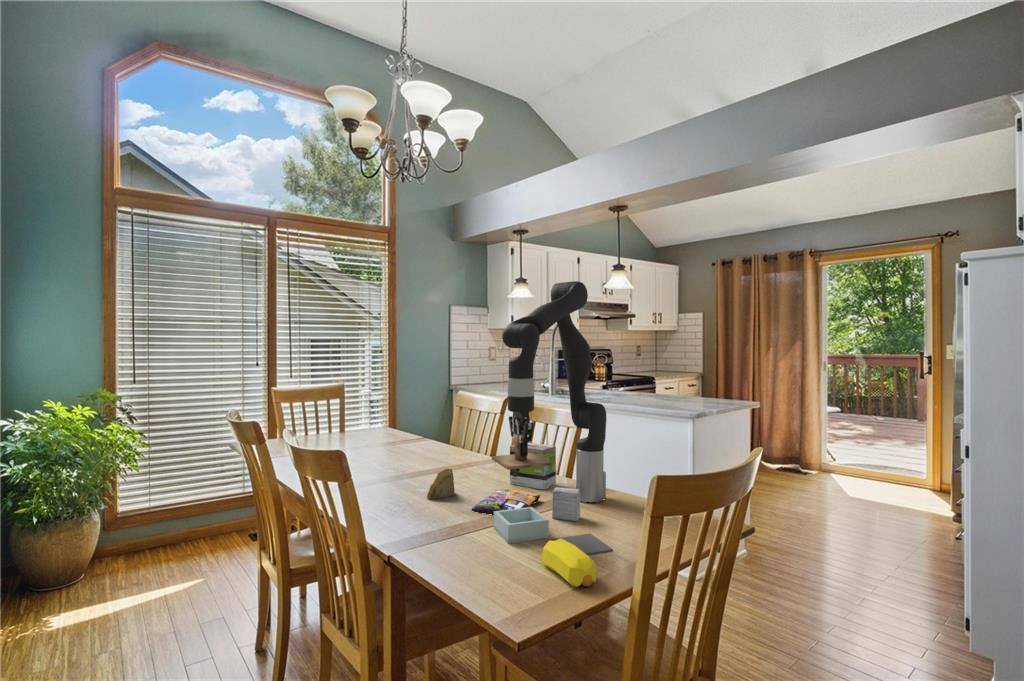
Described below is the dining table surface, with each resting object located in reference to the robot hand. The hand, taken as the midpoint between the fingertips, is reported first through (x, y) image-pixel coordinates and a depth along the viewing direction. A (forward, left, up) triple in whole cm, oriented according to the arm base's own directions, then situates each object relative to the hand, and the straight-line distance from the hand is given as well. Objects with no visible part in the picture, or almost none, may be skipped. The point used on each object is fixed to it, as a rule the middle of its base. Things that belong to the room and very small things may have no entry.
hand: (520, 454), depth 152 cm
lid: (0, 0, -2) cm, 2 cm away
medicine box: (-18, -7, -23) cm, 30 cm away
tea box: (-23, -45, -23) cm, 55 cm away
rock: (+13, -42, -23) cm, 50 cm away
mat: (-12, +14, -22) cm, 29 cm away
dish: (0, 0, -22) cm, 22 cm away
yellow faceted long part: (-1, +28, -23) cm, 36 cm away
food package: (-4, -24, -23) cm, 34 cm away
